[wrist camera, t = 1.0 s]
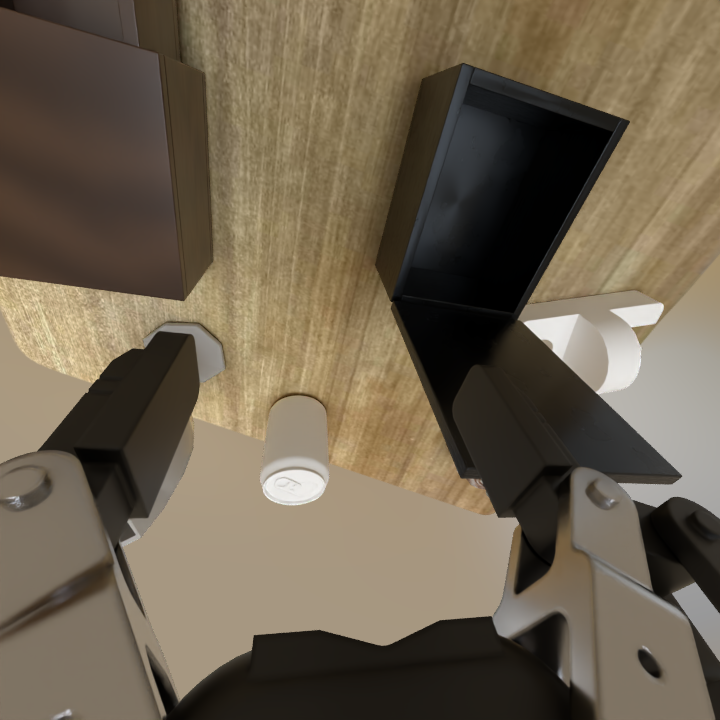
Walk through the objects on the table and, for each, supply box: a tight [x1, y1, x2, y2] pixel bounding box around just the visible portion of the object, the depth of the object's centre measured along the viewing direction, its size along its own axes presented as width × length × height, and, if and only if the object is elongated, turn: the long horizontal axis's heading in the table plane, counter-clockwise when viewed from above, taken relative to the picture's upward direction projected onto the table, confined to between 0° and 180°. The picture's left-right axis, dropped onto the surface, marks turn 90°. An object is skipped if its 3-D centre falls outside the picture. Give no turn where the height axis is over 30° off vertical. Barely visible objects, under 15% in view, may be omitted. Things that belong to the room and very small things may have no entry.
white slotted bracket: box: [517, 290, 664, 394], centre depth 39 cm, size 10×18×10 cm, turn 95°
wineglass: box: [120, 323, 226, 547], centre depth 30 cm, size 9×9×21 cm
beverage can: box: [260, 395, 329, 505], centre depth 42 cm, size 8×8×12 cm
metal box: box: [375, 63, 630, 320], centre depth 28 cm, size 16×13×9 cm
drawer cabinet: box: [0, 7, 213, 301], centre depth 23 cm, size 15×13×9 cm
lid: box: [391, 301, 682, 484], centre depth 22 cm, size 16×13×1 cm
